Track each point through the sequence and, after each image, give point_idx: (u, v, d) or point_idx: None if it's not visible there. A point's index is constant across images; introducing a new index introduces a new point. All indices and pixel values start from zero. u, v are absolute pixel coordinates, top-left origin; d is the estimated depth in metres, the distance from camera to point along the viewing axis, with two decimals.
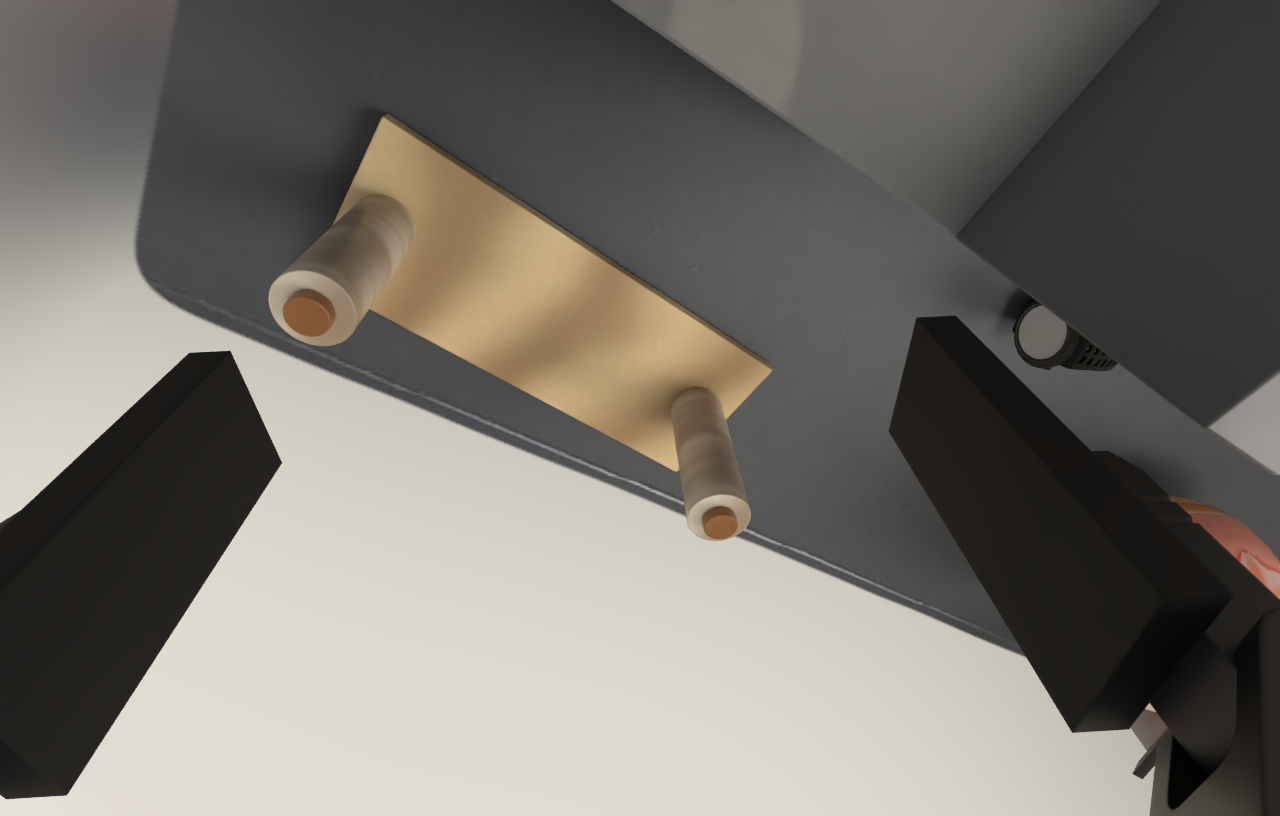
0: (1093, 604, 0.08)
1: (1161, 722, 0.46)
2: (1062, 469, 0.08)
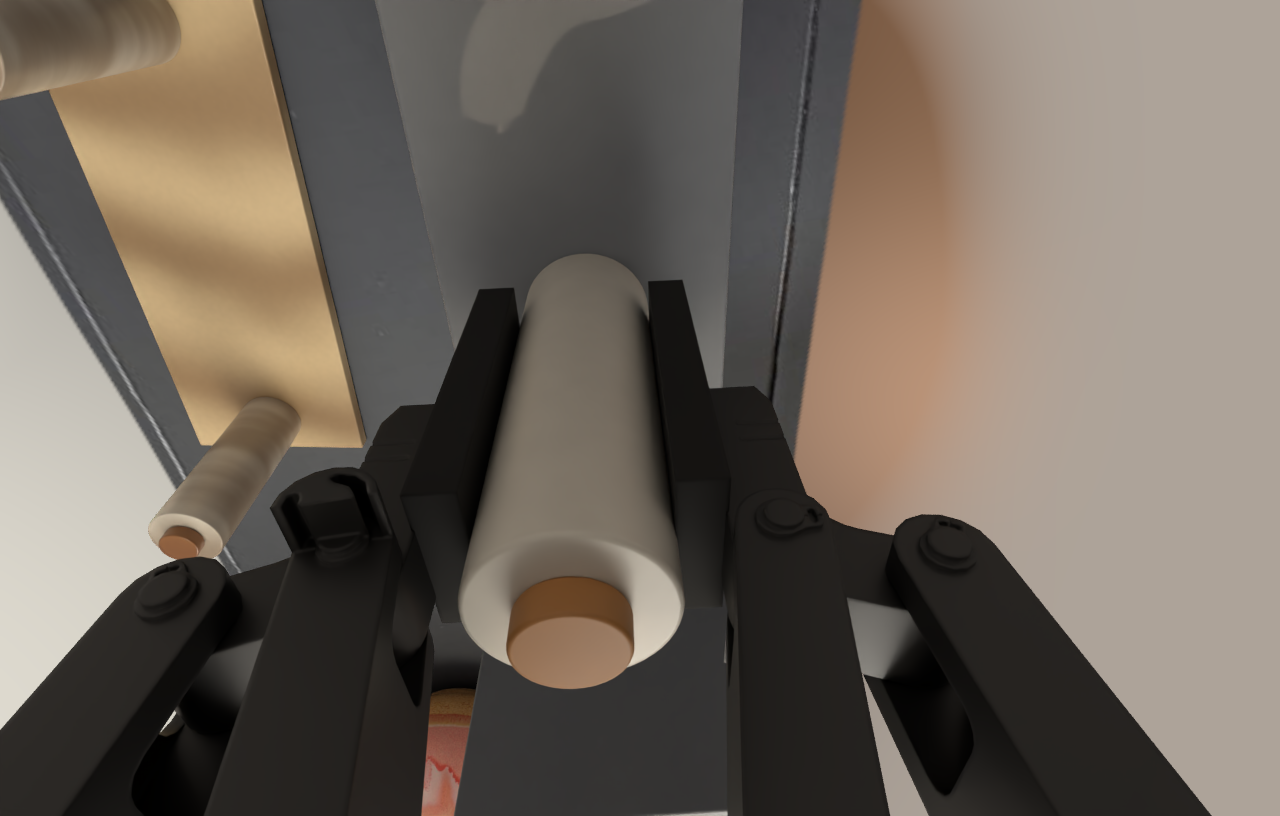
0: (671, 498, 0.09)
1: None
2: (673, 393, 0.10)
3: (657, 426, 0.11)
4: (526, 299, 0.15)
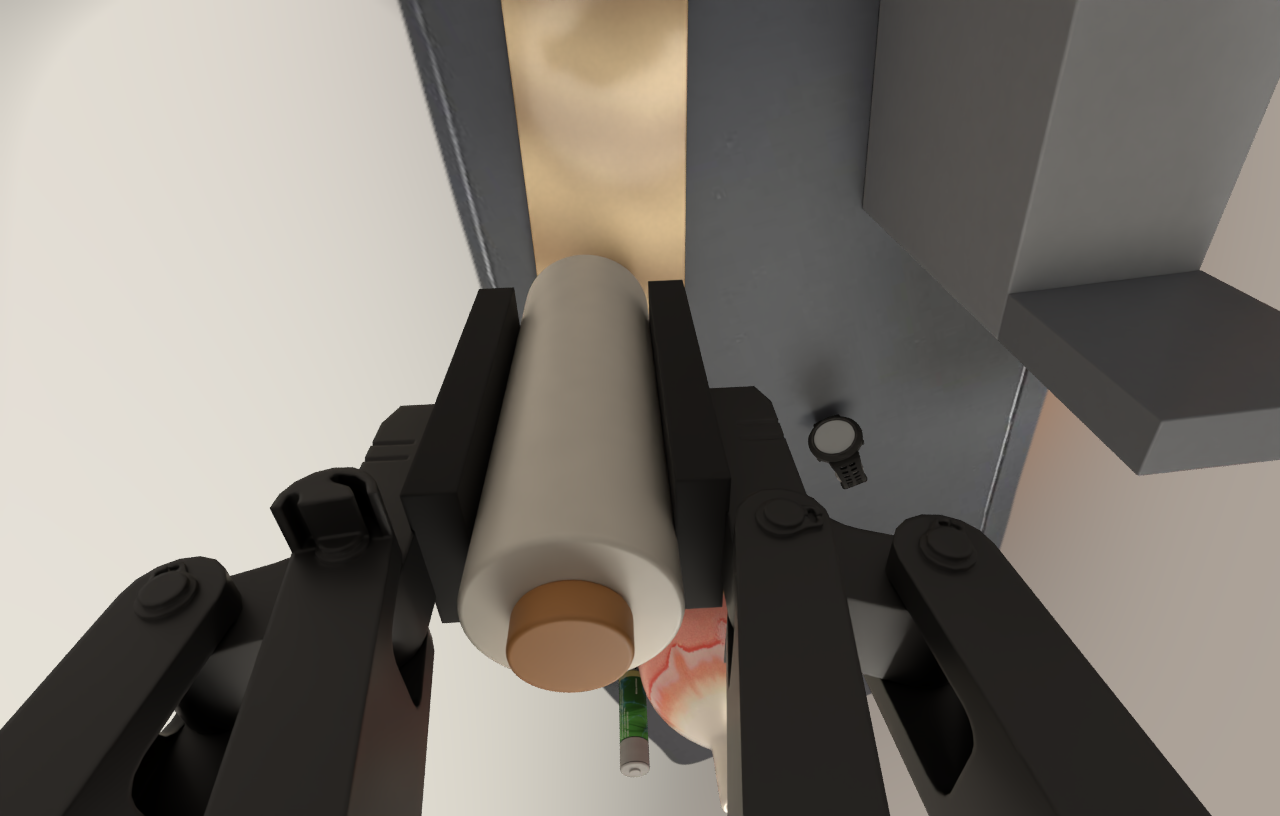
0: (671, 498, 0.09)
1: (644, 750, 0.57)
2: (673, 393, 0.10)
3: (657, 428, 0.11)
4: (526, 300, 0.15)
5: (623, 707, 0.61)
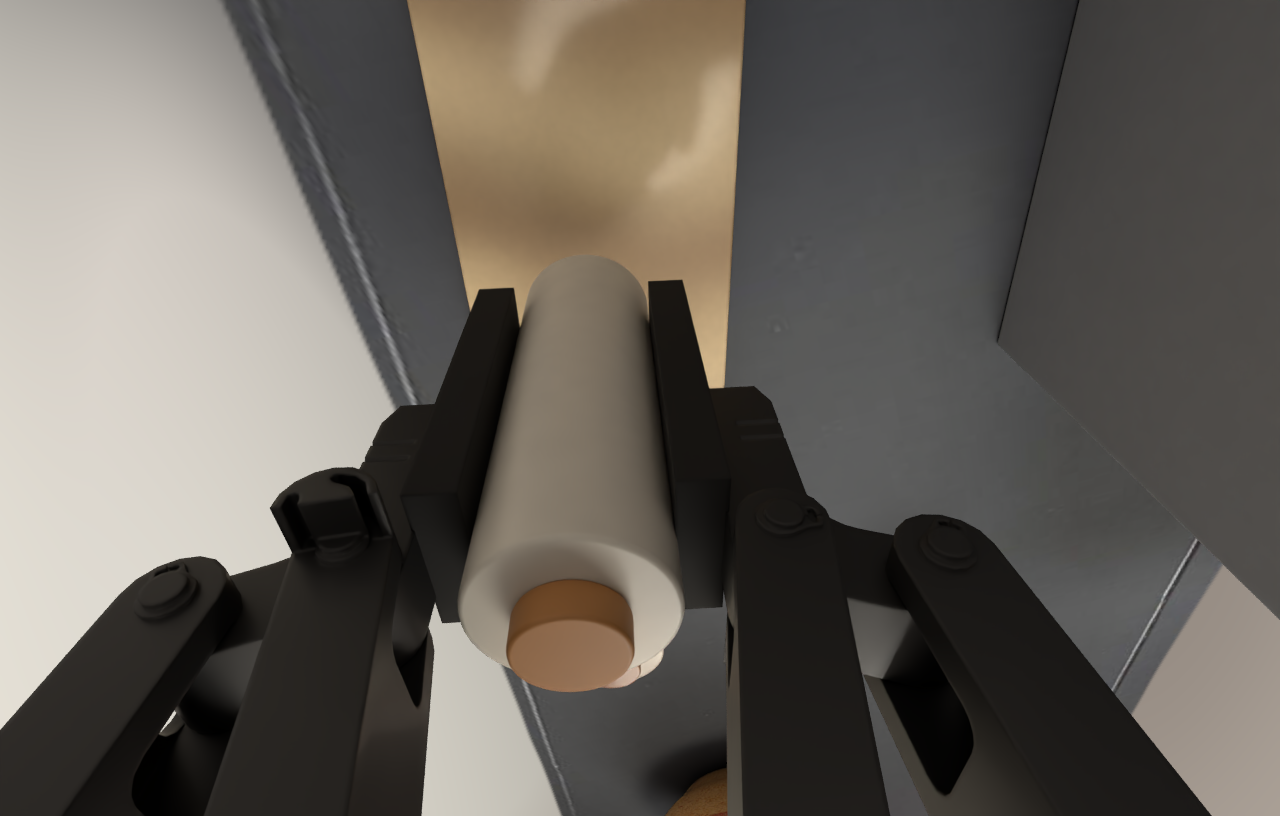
0: (671, 498, 0.09)
1: None
2: (673, 393, 0.10)
3: (657, 428, 0.11)
4: (526, 300, 0.15)
5: None
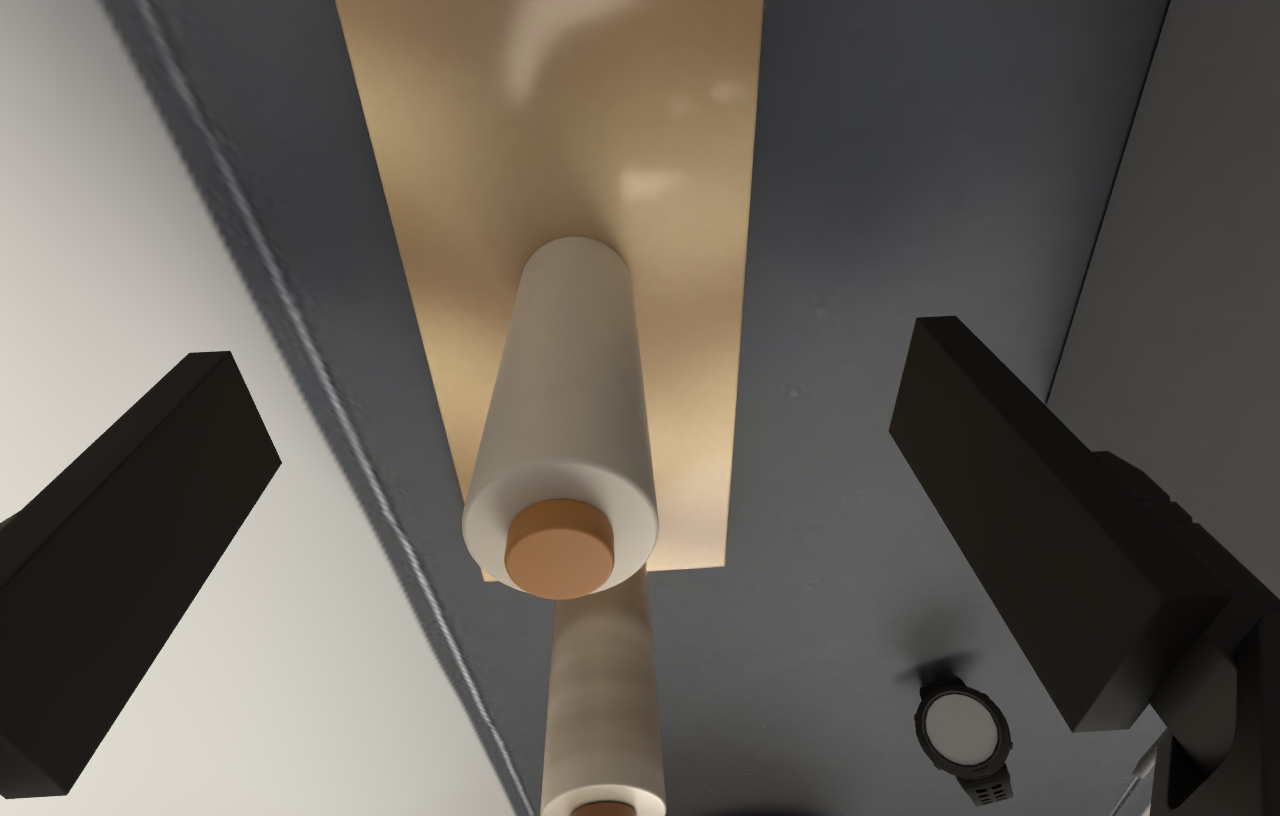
0: (1093, 604, 0.08)
1: None
2: (1062, 469, 0.08)
3: (637, 382, 0.12)
4: None
5: None
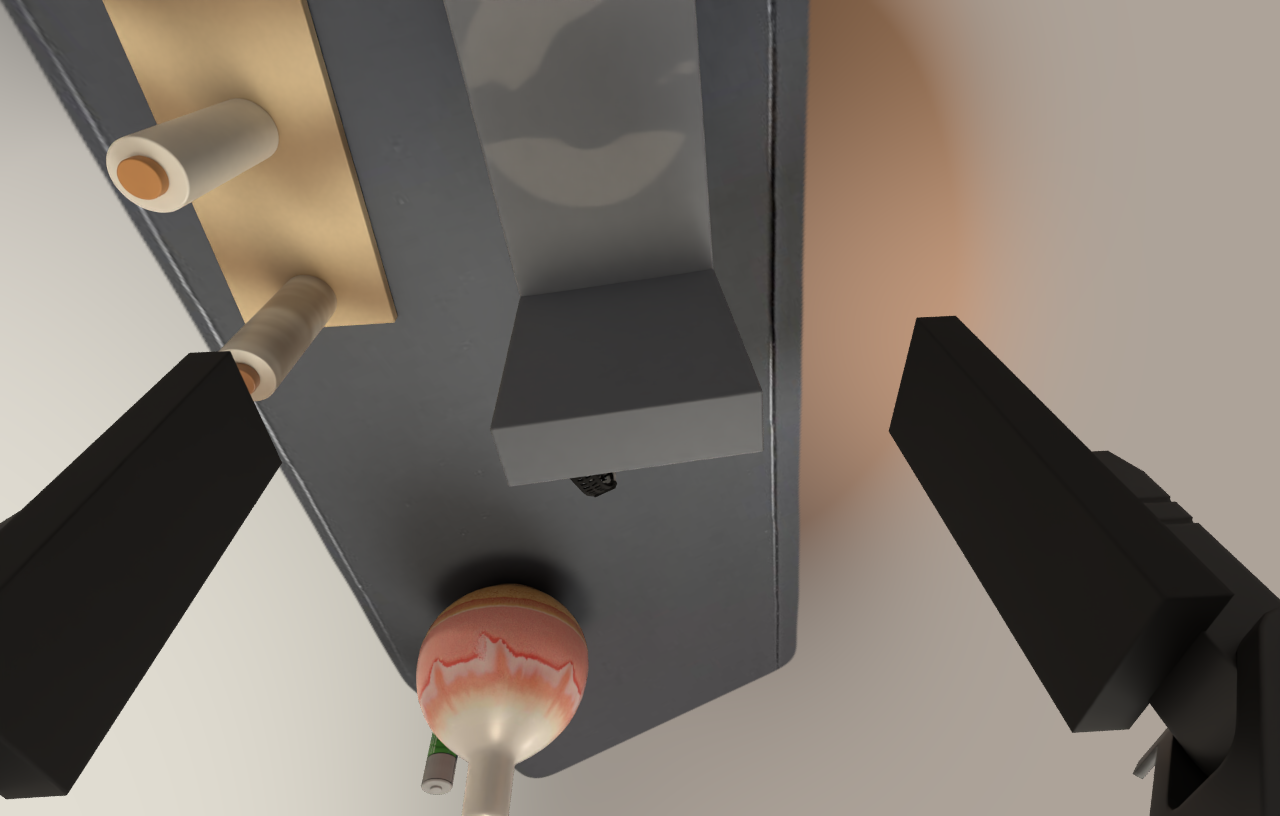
0: (1093, 604, 0.08)
1: (447, 766, 0.56)
2: (1062, 469, 0.08)
3: (214, 139, 0.28)
4: None
5: None
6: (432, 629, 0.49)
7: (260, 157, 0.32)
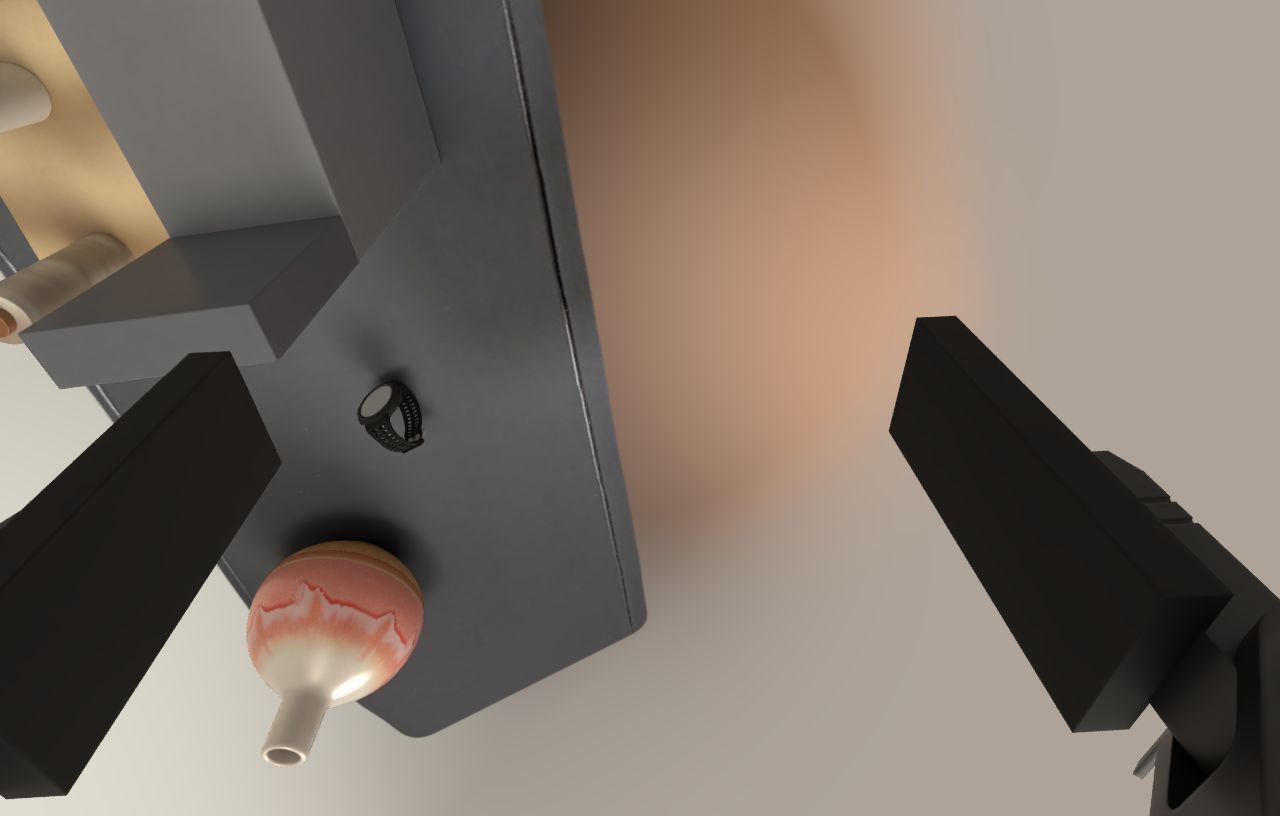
0: (1093, 604, 0.08)
1: None
2: (1062, 469, 0.08)
3: None
4: None
5: None
6: None
7: (24, 118, 0.34)
